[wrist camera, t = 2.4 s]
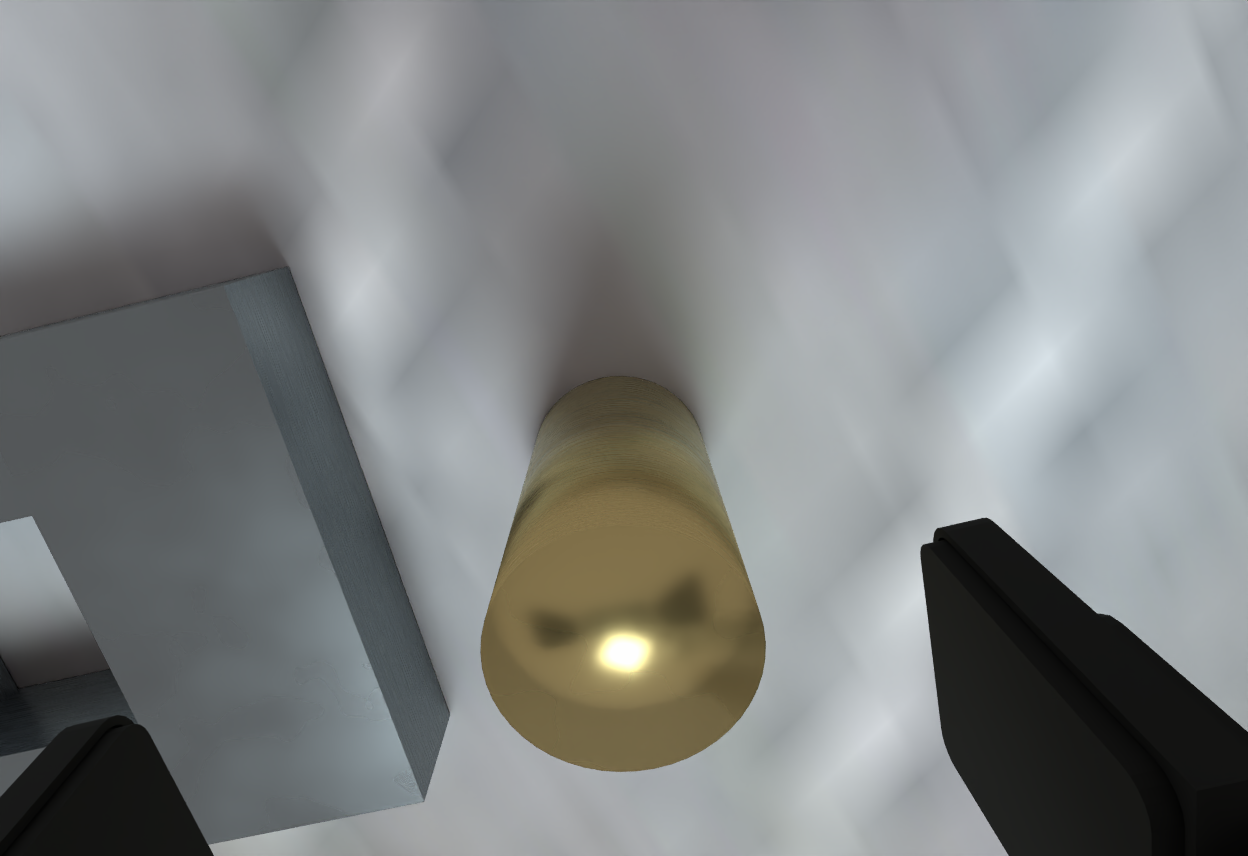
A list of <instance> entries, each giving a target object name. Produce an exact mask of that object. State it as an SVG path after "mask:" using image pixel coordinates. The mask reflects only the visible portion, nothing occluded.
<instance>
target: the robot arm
mask: <svg viewBox="0 0 1248 856" xmlns="http://www.w3.org/2000/svg"><path fill="white" fill-rule="evenodd" d="M920 553H921V565H922V573H923V581H924V589H925V598H926V606H927V614H928V623H929V631H930V639H931V647H932V656H933V664H934V672H935V680H936V689H937V697H938V705H939V714H940V722H941V730H942V735H943V739H944V743H945V746H946V749H947V752H948V754H949V756H950V759H951V761H952V763H953V764H954V766H955V768H956V770H957V771H958V773H959V775H960V776H961V778H962V779H963V781H964V783H965V784H966V786H967V788H968V789H969V791H970V793H971V794H972V796H973V798H974V799H975V801H976V802H977V804H978V806H979V807H980V809H981V811H982V812H983V814H984V816H985V817H986V819H987V821H988V822H989V824H990V826H991V827H992V829H993V830H994V832H995V834H996V835H997V837H998V839H999V840H1000V842H1001V844H1002V845H1003V847H1004V849H1005V850H1006V852H1007V853H1008V855H1009V856H1248V732H1247V731H1246V730H1245V729H1244V728H1242V727H1241V726H1240V725H1239V724H1238V723H1237V722H1236V721H1234V720H1233V719H1232V718H1231V717H1230V716H1229V715H1227V714H1226V713H1225V712H1224V711H1223V710H1222V709H1220V708H1219V707H1218V706H1217V705H1216V704H1215V703H1214V702H1212V701H1211V700H1210V699H1209V698H1208V697H1207V696H1205V695H1204V694H1203V693H1202V692H1201V691H1200V690H1198V689H1197V688H1196V687H1195V686H1194V685H1193V684H1192V683H1190V682H1189V681H1188V680H1187V679H1186V678H1185V677H1183V676H1182V675H1181V674H1180V673H1179V672H1178V671H1176V670H1175V669H1174V668H1173V667H1172V666H1171V665H1170V664H1168V663H1167V662H1166V661H1165V660H1164V659H1163V658H1161V657H1160V656H1159V655H1158V654H1157V653H1156V652H1155V651H1153V650H1152V649H1151V648H1150V647H1149V646H1148V645H1146V644H1145V643H1144V642H1143V641H1142V640H1141V639H1139V638H1138V637H1137V636H1136V635H1135V634H1134V633H1133V632H1131V631H1130V630H1129V629H1128V628H1127V627H1126V626H1124V625H1123V624H1122V623H1121V622H1119V621H1118V620H1116V619H1115V618H1113V617H1112V616H1110V615H1104V614H1097V613H1096V612H1095V611H1093V610H1092V609H1091V608H1090V607H1089V606H1088V605H1087V604H1086V603H1084V602H1083V601H1082V600H1081V599H1080V598H1079V597H1078V596H1077V595H1075V594H1074V593H1073V592H1072V591H1071V590H1070V589H1069V588H1068V587H1066V586H1065V585H1064V584H1063V583H1062V582H1061V581H1060V580H1059V579H1057V578H1056V577H1055V576H1054V575H1053V574H1052V573H1051V572H1050V571H1048V570H1047V569H1046V568H1045V567H1044V566H1043V565H1042V564H1041V563H1039V562H1038V561H1037V560H1036V559H1035V558H1034V557H1033V556H1032V555H1030V554H1029V553H1028V552H1027V551H1026V550H1025V549H1024V548H1022V547H1021V546H1020V545H1019V544H1018V543H1017V542H1016V541H1015V540H1013V539H1012V538H1011V537H1010V536H1009V535H1008V534H1007V533H1006V532H1004V531H1003V530H1002V529H1001V528H1000V527H999V526H998V525H997V524H995V523H994V522H993V521H992V520H990V519H988V518H981V519H976V520H972V521H968V522H963V523H959V524H954V525H950V526H946V527H941V528H937V529H936V531H935V532H934V538H933V543H928V544H924V545H922V547H921V552H920ZM0 856H214V855H213V853H212V851H211V849H210V847H209V846H208V844H207V842H206V840H205V838H204V836H203V834H202V832H201V830H200V829H199V827H198V825H197V823H196V821H195V819H194V817H193V815H192V813H191V811H190V810H189V808H188V806H187V804H186V802H185V800H184V798H183V796H182V794H181V793H180V791H179V789H178V787H177V785H176V783H175V781H174V779H173V777H172V775H171V774H170V772H169V770H168V768H167V766H166V764H165V762H164V760H163V758H162V757H161V755H160V753H159V751H158V749H157V747H156V745H155V743H154V741H153V739H152V738H151V736H150V734H149V732H148V731H147V730H146V728H145V727H143V726H142V725H140V724H134V723H133V721H132V720H130V719H129V718H127V717H126V716H120V715H115V716H111V717H107V718H102V719H98V720H94V721H89V722H85V723H80V724H76V725H72V726H69V727H66V728H65V729H64V730H62V731H61V732H60V733H59V734H58V735H57V736H56V737H55V738H54V739H53V740H52V741H51V742H50V743H49V744H48V746H47V747H46V748H45V749H44V750H43V751H42V752H41V753H40V754H39V755H38V756H37V758H36V759H35V760H34V761H33V762H32V763H31V764H30V765H29V766H28V767H27V768H26V769H25V771H24V772H23V773H22V774H21V775H20V776H19V777H18V778H17V779H16V780H15V781H14V783H13V784H12V785H11V786H10V787H9V788H8V789H7V790H6V791H5V792H4V793H3V794H2V796H1V797H0Z"/></svg>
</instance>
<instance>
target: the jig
mask: <svg viewBox="0 0 1248 856" xmlns="http://www.w3.org/2000/svg"><path fill="white" fill-rule="evenodd" d="M28 516H33V518H34V520H35V522H36V524H37V526H38V528H39V530H40V532H41V534H42V536H43V538H44V540H45V542H46V544H47V546H48V548H49V550H50V552H51V554H52V556H53V558H54V560H55V562H56V563H57V565H58V567H59V569H60V571H61V573H62V575H63V577H64V579H65V581H66V583H67V585H68V587H69V589H70V591H71V593H72V595H73V597H74V599H75V601H76V603H77V605H78V607H79V609H80V611H81V612H82V614H83V616H84V618H85V620H86V622H87V624H88V626H89V628H90V630H91V632H92V634H93V636H94V638H95V640H96V642H97V644H98V646H99V648H100V650H101V652H102V654H103V656H104V658H105V660H106V661H107V663H108V665H109V667H110V669H109V670H105V671H100V672H96V673H91V674H86V675H82V676H77V677H72V678H68V679H63V680H58V681H54V682H49V683H44V684H40V685H35V686H30V687H26V688H21V689H17V687H16V685H15V683H14V682H13V680H12V678H11V676H10V674H9V673H8V671H7V669H6V667H5V665H4V664H3V662H2V660H1V658H0V797H1V796H2V794H3V793H4V792H5V791H6V790H7V789H8V788H9V787H10V786H11V785H12V784H13V783H14V781H15V780H16V779H17V778H18V777H19V776H20V775H21V774H22V773H23V772H24V771H25V769H26V768H27V767H28V766H29V765H30V764H31V763H32V762H33V761H34V760H35V759H36V758H37V756H38V755H39V754H40V753H41V752H42V751H43V750H44V749H45V748H46V747H47V746H48V744H49V743H50V742H51V741H52V740H53V739H54V738H55V737H56V736H57V735H58V734H59V733H60V732H61V731H62V730H64V729H65V728H66V727H69V726H72V725H76V724H80V723H85V722H89V721H94V720H98V719H102V718H107V717H111V716H115V715H120V716H126V717H127V718H129V719H130V720H132V721H133V723H134V724H140V725H142V726H143V727H145V728H146V730H147V731H148V732H149V734H150V736H151V738H152V739H153V741H154V743H155V745H156V747H157V749H158V751H159V753H160V755H161V757H162V758H163V760H164V762H165V764H166V766H167V768H168V770H169V772H170V774H171V775H172V777H173V779H174V781H175V783H176V785H177V787H178V789H179V791H180V793H181V794H182V796H183V798H184V800H185V802H186V804H187V806H188V808H189V810H190V811H191V813H192V815H193V817H194V819H195V821H196V823H197V825H198V827H199V829H200V830H201V832H202V834H203V836H204V838H205V840H206V842H207V844H208V845H209V844H214V843H219V842H224V841H229V840H234V839H239V838H244V837H249V836H254V835H259V834H264V833H269V832H274V831H280V830H285V829H290V828H295V827H300V826H305V825H310V824H315V823H320V822H325V821H330V820H335V819H340V818H345V817H350V816H355V815H360V814H365V813H370V812H375V811H380V810H385V809H390V808H395V807H400V806H405V805H410V804H415V803H420V802H424V800H425V797H426V794H427V790H428V787H429V784H430V780H431V777H432V774H433V770H434V767H435V764H436V760H437V757H438V754H439V750H440V747H441V744H442V740H443V737H444V734H445V730H446V727H447V724H448V720H449V717H450V714H449V711H448V708H447V706H446V703H445V700H444V697H443V695H442V692H441V689H440V686H439V683H438V681H437V678H436V675H435V672H434V670H433V667H432V664H431V661H430V658H429V656H428V653H427V650H426V647H425V645H424V642H423V639H422V636H421V634H420V631H419V628H418V625H417V622H416V620H415V617H414V614H413V611H412V609H411V606H410V603H409V600H408V597H407V595H406V592H405V589H404V586H403V584H402V581H401V578H400V575H399V572H398V570H397V567H396V564H395V561H394V559H393V556H392V553H391V550H390V547H389V545H388V542H387V539H386V536H385V534H384V531H383V528H382V525H381V522H380V520H379V517H378V514H377V511H376V509H375V506H374V503H373V500H372V498H371V495H370V492H369V489H368V486H367V484H366V481H365V478H364V475H363V473H362V470H361V467H360V464H359V461H358V459H357V456H356V453H355V450H354V448H353V445H352V442H351V439H350V436H349V434H348V431H347V428H346V425H345V423H344V420H343V417H342V414H341V411H340V409H339V406H338V403H337V400H336V398H335V395H334V392H333V389H332V386H331V384H330V381H329V378H328V375H327V373H326V370H325V367H324V364H323V361H322V359H321V356H320V353H319V350H318V348H317V345H316V342H315V339H314V337H313V334H312V331H311V328H310V325H309V323H308V320H307V317H306V314H305V312H304V309H303V306H302V303H301V300H300V298H299V295H298V292H297V289H296V287H295V284H294V281H293V278H292V275H291V273H290V270H289V267H284V268H280V269H276V270H272V271H267V272H263V273H259V274H255V275H251V276H247V277H243V278H239V279H235V280H230V281H226V282H222V283H218V284H214V285H210V286H206V287H202V288H198V289H193V290H189V291H185V292H181V293H177V294H173V295H169V296H165V297H161V298H156V299H152V300H148V301H144V302H140V303H136V304H132V305H128V306H124V307H119V308H115V309H111V310H107V311H103V312H99V313H95V314H91V315H87V316H82V317H78V318H74V319H70V320H66V321H62V322H58V323H54V324H50V325H45V326H41V327H37V328H33V329H29V330H25V331H21V332H17V333H12V334H8V335H4V336H0V523H2V522H6V521H11V520H15V519H20V518H24V517H28Z"/></svg>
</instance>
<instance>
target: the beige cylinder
mask: <svg viewBox="0 0 1248 856" xmlns="http://www.w3.org/2000/svg"><path fill="white" fill-rule="evenodd" d="M765 649H766V641H765V633H764V626H763V622H762V619H761V615H760V612H759V609H758V606H757V603H756V600H755V597H754V594H753V591H752V587H751V584H750V581H749V578H748V575H747V572H746V569H745V566H744V563H743V560H742V557H741V554H740V551H739V548H738V545H737V542H736V539H735V536H734V533H733V530H732V527H731V524H730V521H729V518H728V515H727V512H726V509H725V506H724V503H723V500H722V497H721V494H720V491H719V487H718V484H717V481H716V478H715V475H714V472H713V469H712V466H711V463H710V460H709V457H708V454H707V451H706V448H705V445H704V442H703V439H702V436H701V433H700V430H699V428H698V425H697V423H696V421H695V419H694V417H693V416H692V414H691V413H690V411H689V410H688V409H687V407H686V406H685V405H684V404H683V403H682V402H681V401H680V400H679V399H678V398H677V397H676V396H675V395H674V394H672V393H671V392H669V391H668V390H666V389H665V388H663V387H661V386H659V385H657V384H655V383H652V382H650V381H647V380H644V379H639V378H635V377H626V376H612V377H605V378H599V379H596V380H592V381H589V382H587V383H584V384H582V385H580V386H578V387H576V388H575V389H573V390H571V391H570V392H568V393H567V394H566V395H565V396H563V397H562V398H561V399H560V400H559V401H558V402H557V403H556V404H555V405H554V406H553V407H552V409H551V410H550V411H549V413H548V414H547V416H546V417H545V419H544V421H543V423H542V425H541V428H540V430H539V433H538V436H537V439H536V443H535V446H534V450H533V453H532V457H531V460H530V464H529V467H528V471H527V474H526V478H525V481H524V485H523V488H522V492H521V495H520V499H519V502H518V506H517V509H516V513H515V516H514V520H513V523H512V527H511V530H510V534H509V537H508V541H507V544H506V548H505V551H504V554H503V558H502V561H501V565H500V568H499V572H498V575H497V579H496V582H495V586H494V589H493V593H492V596H491V600H490V603H489V607H488V610H487V614H486V617H485V621H484V626H483V631H482V636H481V662H482V670H483V674H484V678H485V681H486V685H487V687H488V690H489V692H490V694H491V697H492V699H493V701H494V702H495V704H496V706H497V707H498V709H499V711H500V712H501V714H502V715H503V716H504V717H505V719H506V720H507V721H508V722H509V724H510V725H511V726H512V727H513V728H514V729H515V730H516V731H517V732H518V733H519V734H520V735H521V736H522V737H524V738H525V739H526V740H528V741H529V742H530V743H532V744H533V745H534V746H536V747H537V748H539V749H541V750H542V751H544V752H546V753H548V754H549V755H551V756H554V757H556V758H558V759H561V760H563V761H565V762H568V763H571V764H574V765H578V766H581V767H585V768H590V769H596V770H601V771H615V772H627V771H641V770H648V769H655V768H659V767H662V766H666V765H670V764H673V763H676V762H679V761H681V760H684V759H687V758H689V757H691V756H693V755H695V754H697V753H698V752H700V751H702V750H704V749H705V748H707V747H708V746H710V745H711V744H713V743H714V742H716V741H717V740H718V739H720V738H721V737H722V736H723V735H724V734H725V733H727V732H728V731H729V730H730V729H731V728H732V727H733V726H734V724H735V723H736V722H737V721H738V720H739V719H740V718H741V716H742V715H743V714H744V712H745V711H746V709H747V708H748V706H749V705H750V703H751V701H752V699H753V697H754V695H755V693H756V691H757V689H758V686H759V683H760V680H761V677H762V674H763V668H764V663H765Z"/></svg>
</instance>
